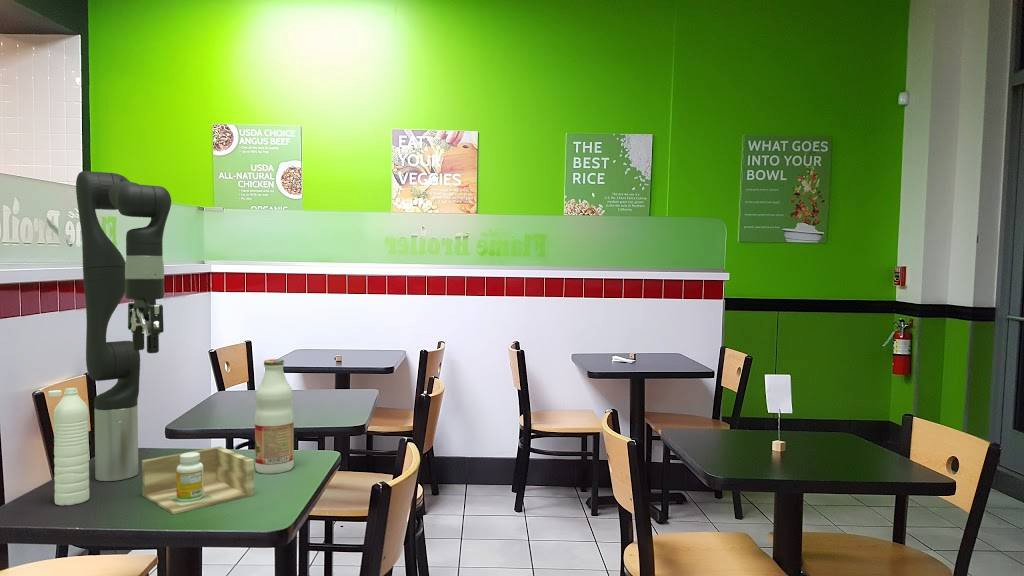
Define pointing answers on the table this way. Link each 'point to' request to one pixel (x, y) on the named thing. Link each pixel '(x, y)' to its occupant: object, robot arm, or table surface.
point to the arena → (221, 478)
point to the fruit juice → (274, 421)
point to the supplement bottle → (190, 478)
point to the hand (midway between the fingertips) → (145, 351)
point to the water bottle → (71, 448)
